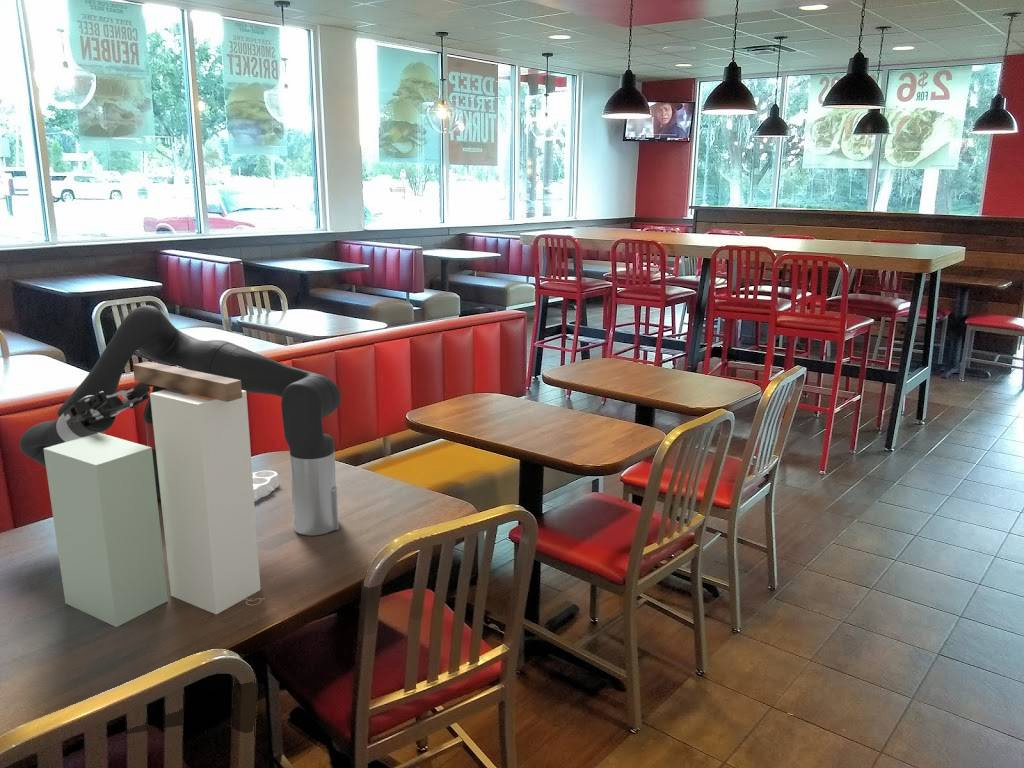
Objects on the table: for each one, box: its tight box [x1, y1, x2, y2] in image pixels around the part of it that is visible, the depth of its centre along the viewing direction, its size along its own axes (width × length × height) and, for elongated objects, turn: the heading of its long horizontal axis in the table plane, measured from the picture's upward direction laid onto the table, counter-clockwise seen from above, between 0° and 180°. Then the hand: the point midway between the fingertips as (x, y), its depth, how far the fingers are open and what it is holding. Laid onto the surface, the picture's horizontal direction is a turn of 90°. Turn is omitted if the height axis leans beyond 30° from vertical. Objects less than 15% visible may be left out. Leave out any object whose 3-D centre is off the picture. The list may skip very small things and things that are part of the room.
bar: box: [132, 361, 242, 402], centre depth 136 cm, size 24×3×3 cm, turn 60°
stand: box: [149, 389, 262, 615], centre depth 140 cm, size 12×10×38 cm
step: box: [43, 433, 169, 628], centre depth 138 cm, size 14×10×29 cm
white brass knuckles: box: [252, 470, 279, 503], centre depth 189 cm, size 3×18×15 cm
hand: (126, 390), depth 146 cm, fingers open, 8 cm apart
